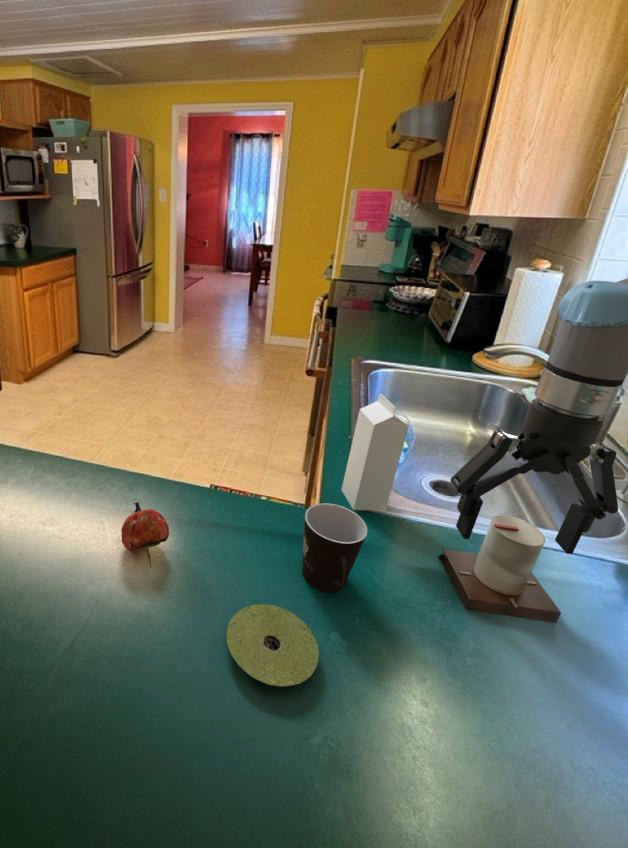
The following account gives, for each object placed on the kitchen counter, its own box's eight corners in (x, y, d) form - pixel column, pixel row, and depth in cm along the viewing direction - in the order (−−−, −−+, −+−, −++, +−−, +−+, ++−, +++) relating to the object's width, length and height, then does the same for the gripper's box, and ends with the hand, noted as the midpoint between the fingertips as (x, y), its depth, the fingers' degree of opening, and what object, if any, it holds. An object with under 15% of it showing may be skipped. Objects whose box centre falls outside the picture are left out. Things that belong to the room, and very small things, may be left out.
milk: (369, 498, 90) (396, 393, 82) (384, 518, 85) (414, 408, 76) (338, 497, 90) (363, 392, 82) (351, 518, 84) (378, 407, 76)
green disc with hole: (214, 619, 63) (216, 608, 62) (293, 609, 65) (295, 598, 64) (241, 704, 53) (243, 692, 52) (332, 689, 55) (336, 677, 54)
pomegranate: (172, 567, 74) (163, 504, 79) (175, 560, 67) (164, 492, 72) (125, 575, 73) (118, 510, 78) (123, 568, 66) (116, 499, 71)
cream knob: (509, 565, 73) (530, 516, 69) (532, 598, 67) (556, 547, 63) (466, 559, 73) (484, 510, 70) (484, 591, 67) (505, 540, 64)
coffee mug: (303, 547, 77) (314, 496, 73) (358, 569, 73) (372, 517, 69) (280, 595, 67) (290, 540, 63) (341, 624, 63) (356, 566, 60)
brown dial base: (517, 568, 75) (522, 557, 74) (557, 625, 65) (563, 613, 64) (438, 557, 76) (442, 546, 75) (466, 611, 67) (470, 599, 66)
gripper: (477, 406, 57) (430, 544, 65) (704, 433, 55) (626, 573, 63) (453, 383, 64) (413, 510, 72) (653, 405, 61) (588, 535, 69)
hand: (512, 539), depth 67 cm, fingers open, 13 cm apart
